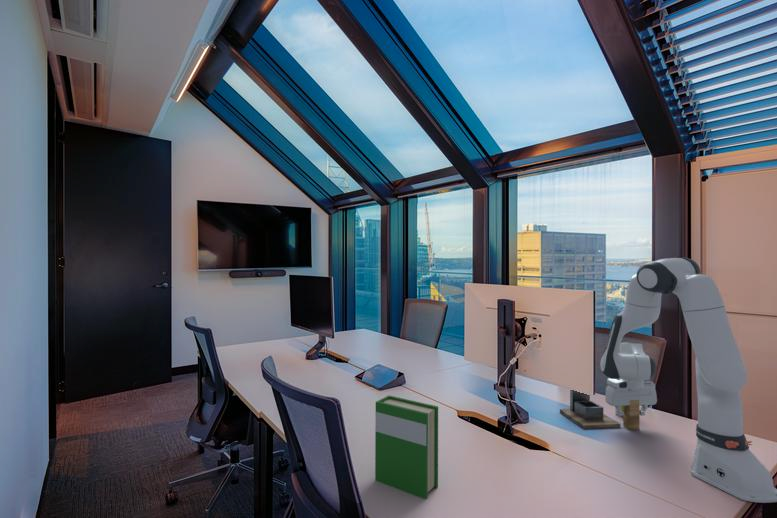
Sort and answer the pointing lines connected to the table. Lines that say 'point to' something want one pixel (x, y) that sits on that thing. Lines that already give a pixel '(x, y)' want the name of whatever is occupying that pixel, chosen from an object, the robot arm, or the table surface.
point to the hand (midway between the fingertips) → (631, 415)
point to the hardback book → (406, 445)
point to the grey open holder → (585, 406)
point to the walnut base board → (590, 421)
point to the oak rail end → (631, 415)
